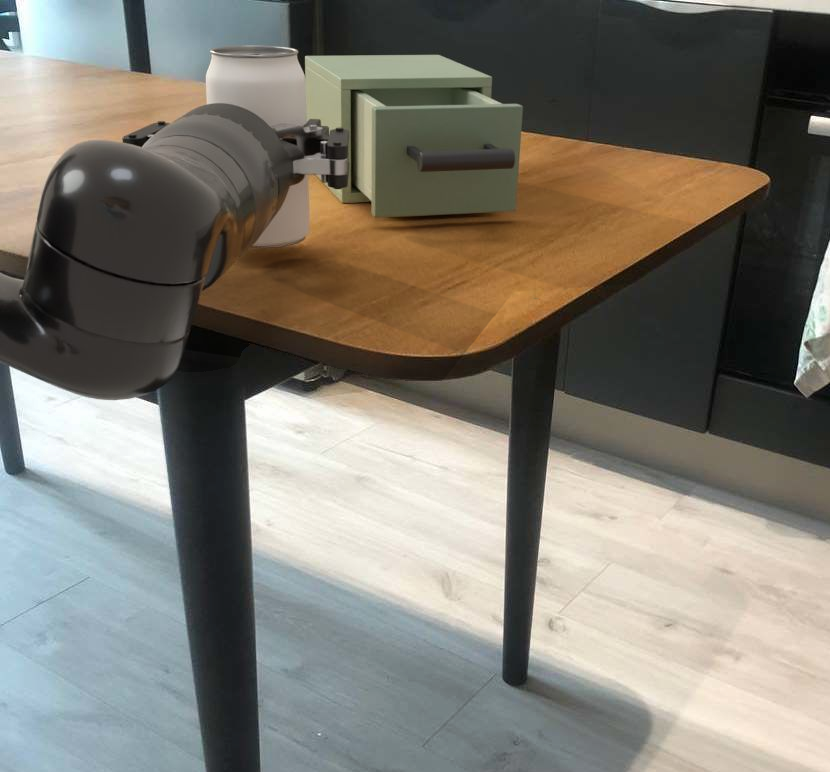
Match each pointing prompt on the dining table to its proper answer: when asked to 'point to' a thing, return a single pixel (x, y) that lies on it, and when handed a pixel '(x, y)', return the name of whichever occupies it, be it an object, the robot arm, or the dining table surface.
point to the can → (266, 116)
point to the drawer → (434, 151)
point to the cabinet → (343, 73)
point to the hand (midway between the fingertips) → (265, 133)
